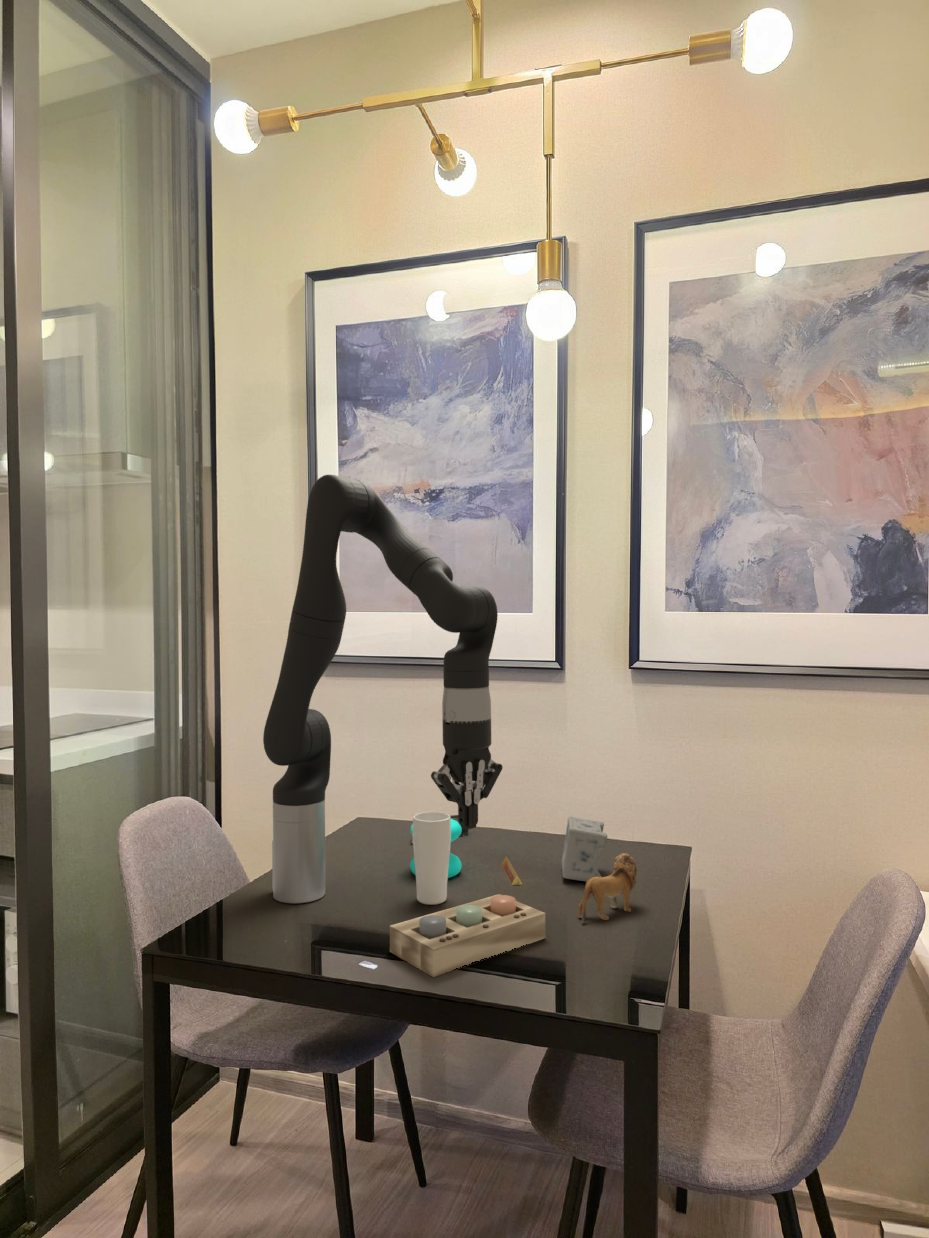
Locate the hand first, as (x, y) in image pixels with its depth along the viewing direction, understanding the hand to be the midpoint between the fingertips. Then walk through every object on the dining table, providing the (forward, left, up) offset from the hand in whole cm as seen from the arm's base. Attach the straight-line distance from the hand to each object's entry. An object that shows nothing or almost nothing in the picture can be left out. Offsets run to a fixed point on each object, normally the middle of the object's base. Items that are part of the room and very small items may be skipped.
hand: (468, 827), depth 132 cm
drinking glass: (-18, +7, -18) cm, 27 cm away
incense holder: (-11, +38, -18) cm, 43 cm away
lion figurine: (+5, +27, -18) cm, 33 cm away
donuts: (-30, +16, -18) cm, 39 cm away
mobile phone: (-49, +31, -19) cm, 61 cm away
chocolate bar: (-20, +27, -19) cm, 39 cm away
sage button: (0, 0, -16) cm, 16 cm away
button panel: (0, 0, -18) cm, 18 cm away
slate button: (0, -7, -15) cm, 17 cm away
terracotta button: (0, +7, -15) cm, 17 cm away
